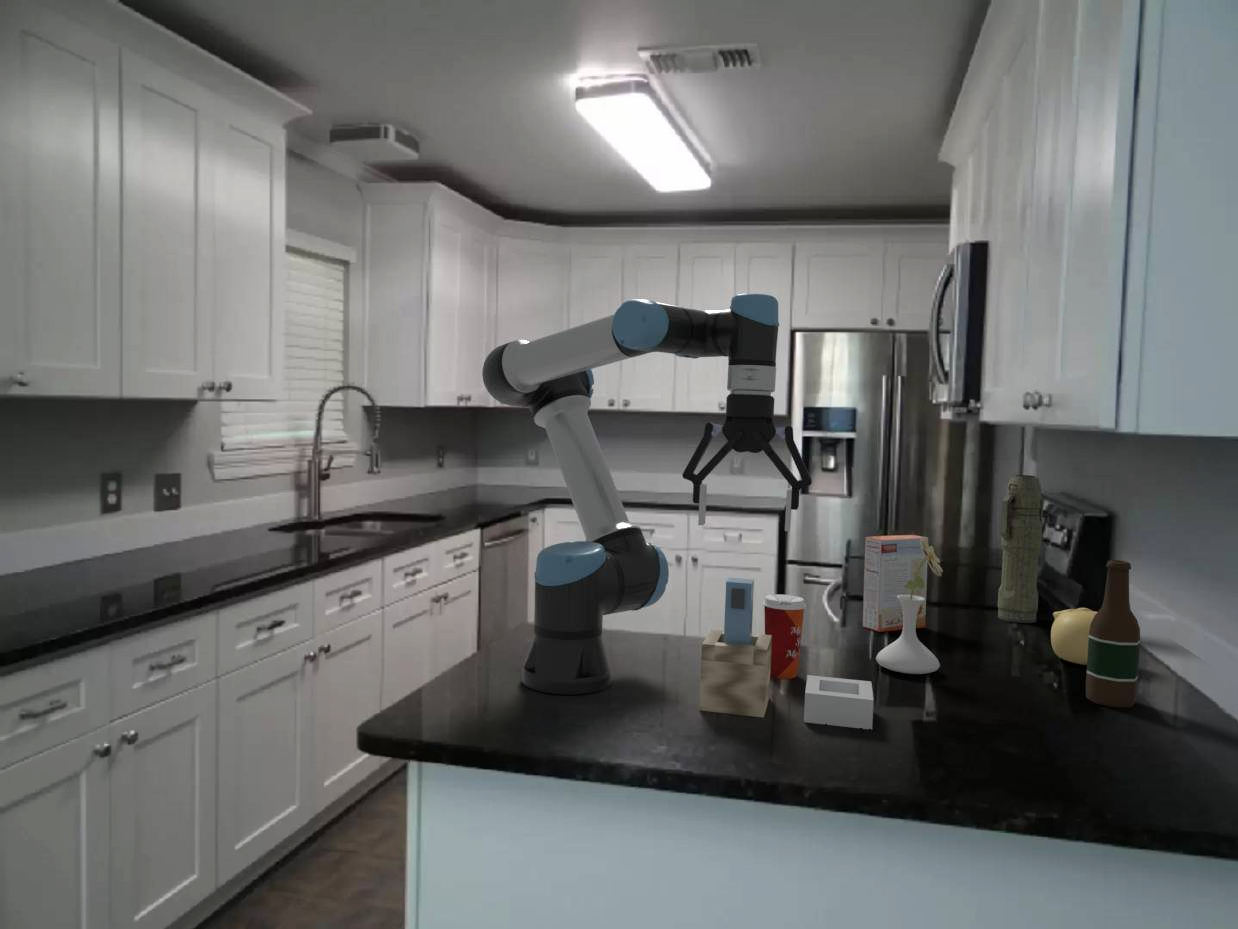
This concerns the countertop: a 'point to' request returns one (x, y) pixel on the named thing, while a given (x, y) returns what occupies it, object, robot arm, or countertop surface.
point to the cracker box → (891, 580)
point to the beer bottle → (1114, 644)
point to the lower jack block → (839, 702)
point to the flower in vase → (912, 628)
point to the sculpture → (1072, 634)
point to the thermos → (1020, 549)
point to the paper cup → (784, 633)
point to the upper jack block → (735, 675)
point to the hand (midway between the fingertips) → (744, 527)
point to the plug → (738, 611)
